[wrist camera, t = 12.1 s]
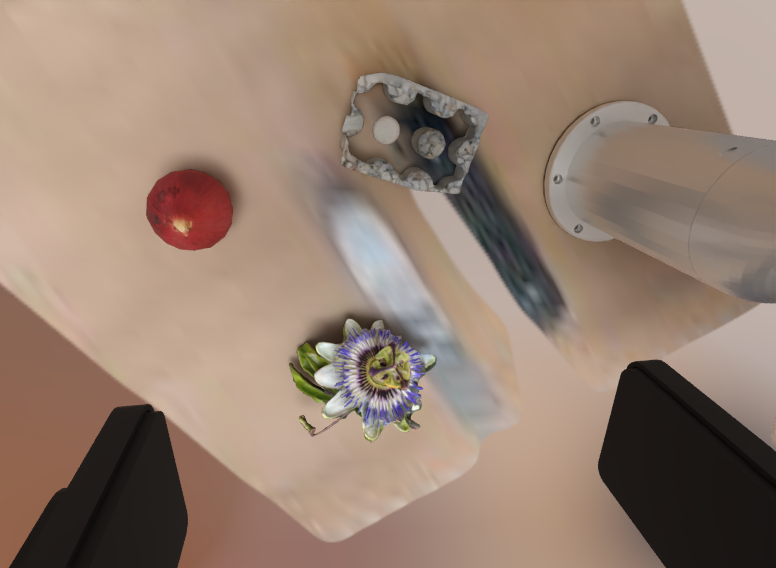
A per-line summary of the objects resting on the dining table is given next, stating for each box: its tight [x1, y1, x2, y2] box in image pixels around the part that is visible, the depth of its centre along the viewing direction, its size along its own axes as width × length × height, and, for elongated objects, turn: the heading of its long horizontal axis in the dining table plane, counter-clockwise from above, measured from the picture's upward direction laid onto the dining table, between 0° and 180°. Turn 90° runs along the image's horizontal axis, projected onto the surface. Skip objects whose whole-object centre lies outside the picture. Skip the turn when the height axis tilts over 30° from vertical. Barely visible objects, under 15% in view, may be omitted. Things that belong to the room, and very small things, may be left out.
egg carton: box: [340, 73, 488, 194], centre depth 37 cm, size 11×8×4 cm
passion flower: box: [289, 319, 436, 443], centre depth 43 cm, size 11×11×12 cm
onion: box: [146, 170, 233, 251], centre depth 34 cm, size 6×6×8 cm
